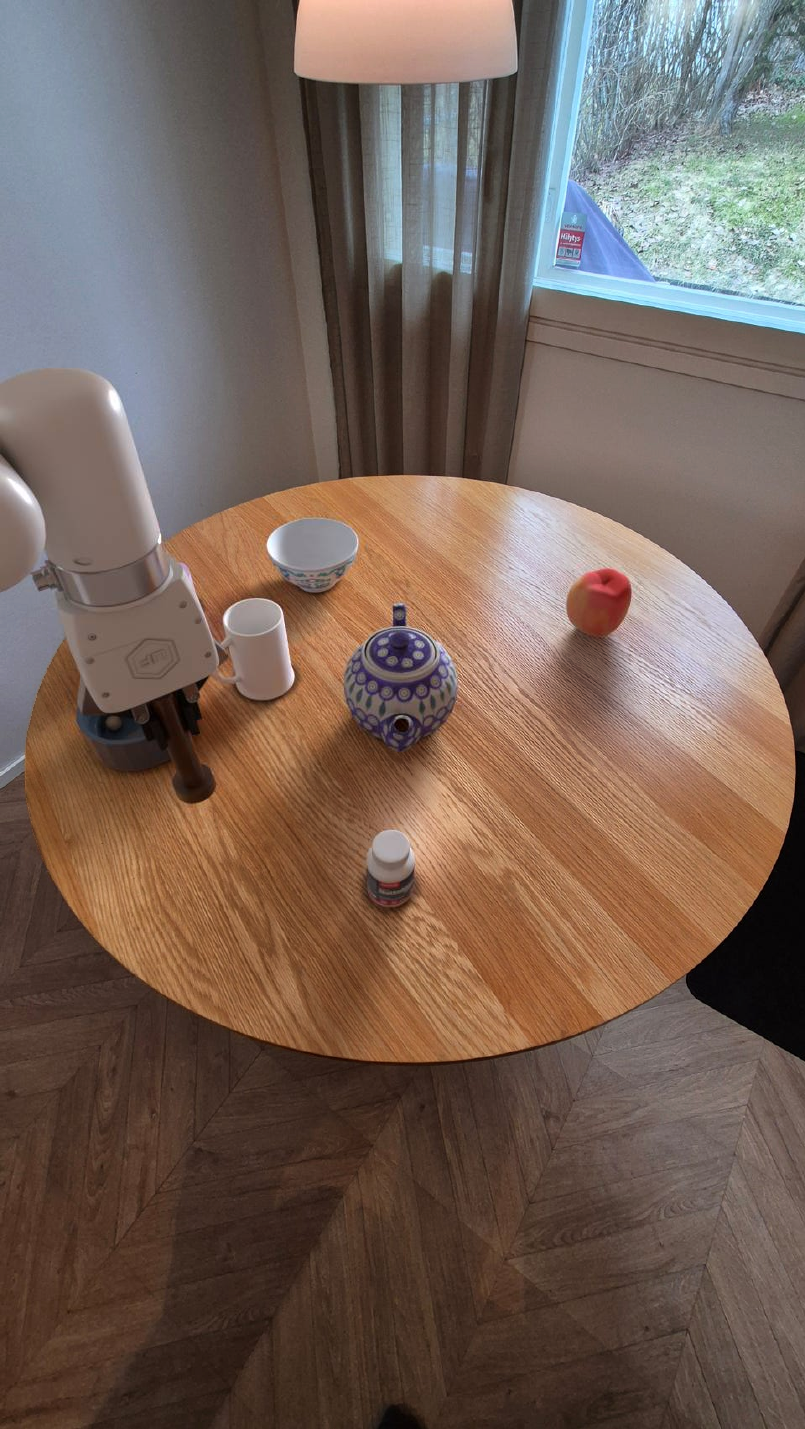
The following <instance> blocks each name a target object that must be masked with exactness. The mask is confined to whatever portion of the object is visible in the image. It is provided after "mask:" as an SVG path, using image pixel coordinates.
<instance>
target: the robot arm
mask: <svg viewBox="0 0 805 1429" xmlns="http://www.w3.org/2000/svg"><path fill="white" fill-rule="evenodd" d="M165 546H166V544H165V542H164V539H163V536H162V532H161V528H160V525H159V522H158V518H157V515H156V512H155V508H154V505H153V501H152V497H151V495H150V492H149V488H148V485H147V481H146V478H145V474H144V471H143V468H142V465H141V461H140V458H139V454H138V451H137V448H136V444H135V441H134V437H133V434H132V430H131V426H130V423H129V420H128V417H127V413H126V410H125V408H124V404H123V402H122V399H121V396H120V394H119V393H118V392H117V390H116V389H115V387H114V386H113V385H112V383H111V382H110V381H109V380H107V378H104V376H102V375H99V374H98V373H95V372H94V371H90V370H87V369H83V368H77V367H63V366H61V367H58V366H57V367H55V366H54V367H45V368H44V367H43V368H39V369H33V370H28V371H25V372H21V373H18V374H16V375H14V376H11V377H9V378H6V379H5V380H3V381H1V382H0V593H4V592H7V591H8V590H9V589H11V588H13V587H15V586H16V585H18V584H19V583H21V582H22V581H23V580H25V579H26V578H27V577H28V576H29V575H30V577H31V578H32V581H33V582H34V585H35V587H36V589H37V590H38V591H37V592H41V591H45V590H47V589H50V590H54V589H55V592H54V594H55V601H56V602H55V603H56V607H57V612H58V616H59V620H60V623H61V627H62V629H63V633H64V637H65V639H66V642H67V645H68V648H69V650H70V653H71V656H72V659H73V661H74V662H75V665H76V667H77V670H78V672H79V674H80V678H79V685H78V693H77V698H76V699H77V700H76V705H77V707H79V709H80V711H81V714H82V715H84V716H94V715H106V713H111V714H112V715H115V716H120V717H125V718H130V719H135V721H136V723H138V724H139V725H140V727H141V730H142V732H143V734H144V736H145V738H146V740H147V742H150V741H152V740H154V739H155V740H156V742H157V744H158V746H159V748H160V750H161V751H164V750H166V749H167V747H169V746H168V744H167V741H166V739H165V736H164V734H163V731H162V728H161V726H160V723H159V721H158V719H157V717H156V715H155V713H154V712H153V711H152V710H151V707H150V705H149V703H148V701H151V700H153V699H156V698H158V697H161V696H163V695H165V694H168V693H170V692H173V691H175V690H176V693H177V696H178V699H179V703H180V705H181V708H182V711H183V714H184V717H185V720H186V723H187V726H188V728H189V731H190V732H191V737H194V736H195V737H197V736H200V735H201V734H202V732H201V730H200V726H199V724H198V721H201V720H203V715H202V712H201V709H200V704H199V702H198V701H199V700H200V698H201V694H200V692H201V690H202V688H203V687H204V685H205V684H206V682H207V681H208V679H209V678H210V676H211V675H212V674H214V673H213V672H214V671H215V670H216V669H217V670H218V668H219V667H220V666H222V664H224V663H225V662H226V661H227V660H228V659H229V654H228V652H227V651H226V649H224V648H223V647H222V646H221V645H220V644H221V643H220V642H218V641H217V640H216V639H215V638H214V637H213V635H212V632H211V629H210V627H209V623H208V621H207V617H206V615H205V612H204V610H203V608H202V605H201V602H200V600H199V598H198V594H197V592H196V589H195V587H194V588H193V586H192V584H191V582H190V580H189V578H188V576H187V574H186V572H185V570H184V569H183V567H182V566H181V564H180V563H181V562H179V561H177V559H176V558H175V557H173V556H172V555H170V554H169V553H167V549H166V547H165ZM43 553H45V555H46V557H47V559H46V560H44V561H43V562H44V563H45V565H43V566H40V567H39V568H40V569H37V570H34V569H35V568H36V566H37V565H38V564H39V562H40V560H41V558H42V555H43ZM194 589H195V590H194ZM104 694H105V695H104Z"/></svg>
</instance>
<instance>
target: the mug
mask: <svg viewBox="0 0 805 1429" xmlns="http://www.w3.org/2000/svg"><path fill="white" fill-rule="evenodd" d="M222 625H223V626H222V627H223V629H224V633H225V634H224V635H225V638H224V639H223V641H221V643H219V644H220V645H221V646H222V647H223V648H224V650H226V649H227V648H228V649H229V654H230V658H231V662H232V666H233V671H234V676H232V677H223V676H221V675H220V674H219V673H218V668H217V669H216V670H215V671H214V672H213V673H212V674H213V675H214V677H215V678H216V679H217V680H218V681H219V682H220V683H223V684H228V685H233V684H235V685H236V689H237V690H238V691H239V693H240V694H241V695H243V696H244V697H246V698H248V699H251V700H256V701H268V700H273V699H276V698H278V697H281V696H283V695H284V694H286V693H287V692H288V691H289V690H290V689H291V688H292V687H293V684H294V682H295V671H294V670H293V667H292V662H291V657H290V650H289V643H288V637H287V631H286V625H285V618H284V612H283V610H282V608H281V606H280V605H279V604H278V603H276V602H275V601H273V600H271V599H266V598H259V597H257V598H256V597H254V598H253V597H252V598H246V599H243V600H240V601H238V602H235V603H233V604H232V605H230V606H229V607H228V608H227V609H226V610H225V612H224V613H223V616H222Z"/></svg>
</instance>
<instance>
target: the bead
mask: <svg viewBox="0 0 805 1429" xmlns="http://www.w3.org/2000/svg"><path fill="white" fill-rule="evenodd" d="M121 724H122V722H121V719H120V718H119V717H117V716H110V717H108V718H107V720H106V727H107V728H108V729H110V730H117V729H119V728H120V727H121Z"/></svg>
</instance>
